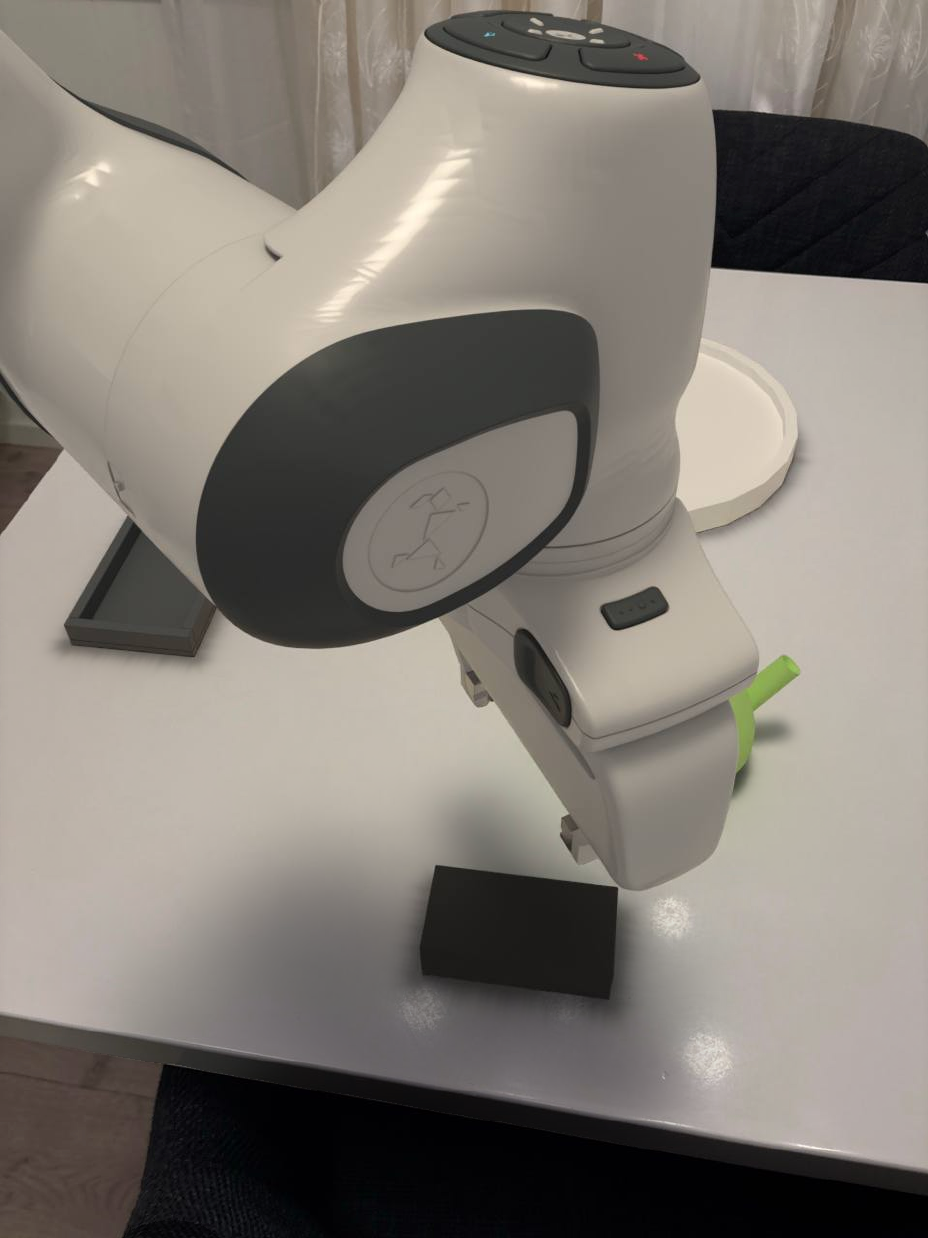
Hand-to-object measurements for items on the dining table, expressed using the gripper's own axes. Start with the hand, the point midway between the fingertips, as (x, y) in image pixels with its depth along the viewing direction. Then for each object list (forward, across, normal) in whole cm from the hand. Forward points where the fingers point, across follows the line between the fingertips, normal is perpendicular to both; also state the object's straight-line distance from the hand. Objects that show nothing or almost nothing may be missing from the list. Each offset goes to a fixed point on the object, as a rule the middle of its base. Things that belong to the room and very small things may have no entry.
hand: (531, 765), depth 47 cm
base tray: (+15, -37, -10) cm, 41 cm away
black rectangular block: (+15, 0, 0) cm, 15 cm away
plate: (+15, -37, +30) cm, 51 cm away
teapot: (+15, -8, +14) cm, 23 cm away
